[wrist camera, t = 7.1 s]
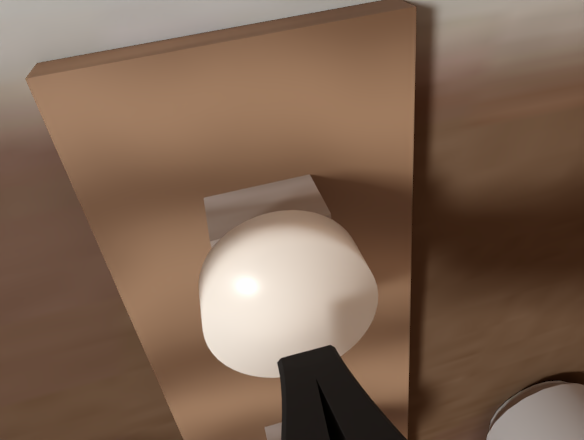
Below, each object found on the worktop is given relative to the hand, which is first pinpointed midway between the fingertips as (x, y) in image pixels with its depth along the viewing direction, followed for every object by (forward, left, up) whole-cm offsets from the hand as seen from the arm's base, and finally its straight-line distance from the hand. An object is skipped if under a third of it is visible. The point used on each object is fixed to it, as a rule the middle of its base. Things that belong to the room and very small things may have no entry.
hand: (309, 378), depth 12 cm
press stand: (-6, -3, -8) cm, 10 cm away
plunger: (0, 0, -6) cm, 6 cm away
